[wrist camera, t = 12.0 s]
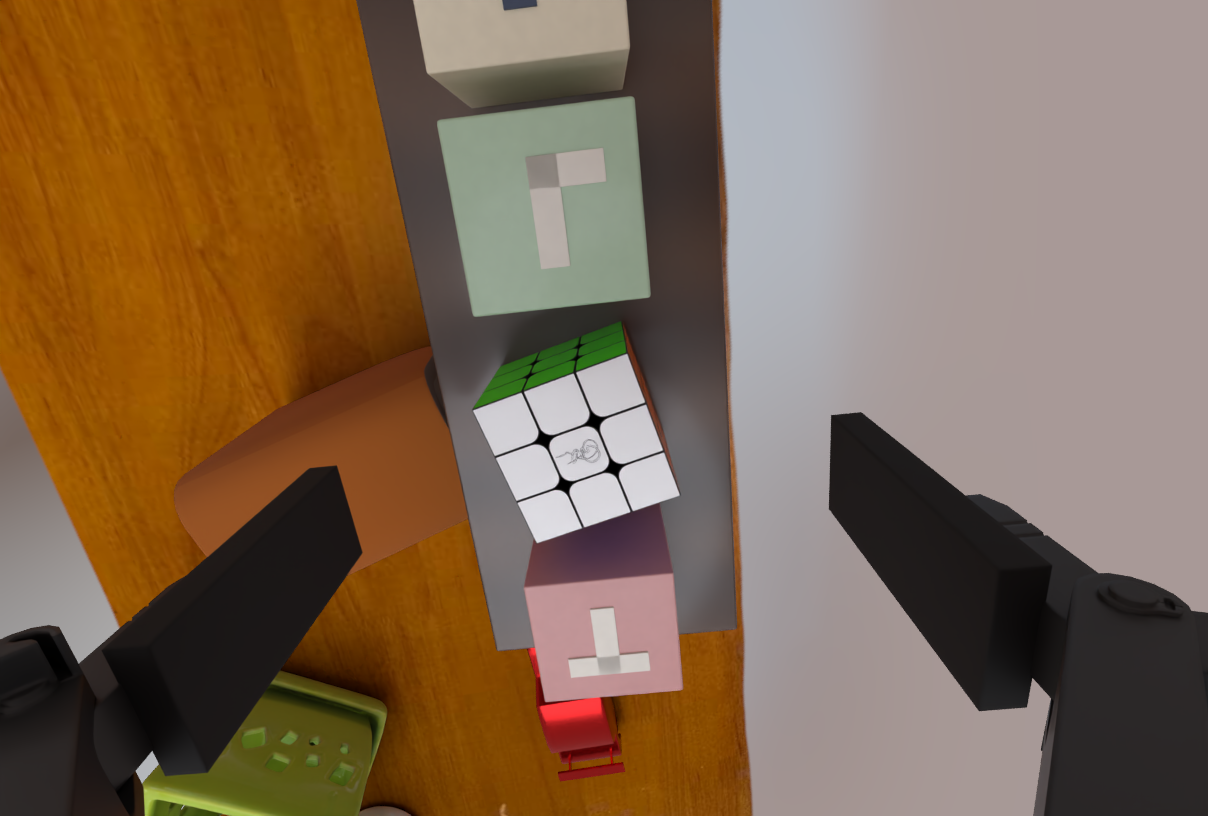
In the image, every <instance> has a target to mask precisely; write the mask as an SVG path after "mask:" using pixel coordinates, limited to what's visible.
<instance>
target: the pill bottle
mask: <svg viewBox="0 0 1208 816" xmlns="http://www.w3.org/2000/svg"><path fill="white" fill-rule="evenodd" d="M359 816H411V815H410V814H408V813H407V812H405V811H403V810H400V809H397V808H394V807H388V806H377V807H371V808H368V809H365V810H363V811H361V812H359Z"/></svg>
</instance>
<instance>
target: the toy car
mask: <svg viewBox="0 0 1208 816" xmlns="http://www.w3.org/2000/svg"><path fill="white" fill-rule="evenodd" d="M527 650H528V654H529V657H530V660H531V663H532V667H533V670H534V673H535V677H536V707H537V711H538V715H539V719H540V722H541V725H542V729H543V732H544V735H545V738H546V741H547V745H548V747H549V749H550V751H551V753H556V752H559V756H560V759H561V762H562V764H566V763H569V770H568V771H561V772H558V776H559V779H560V781H566V780H573V779H580V778H586V777H593V776H600V775H606V774H613V773H620V772H625V768H624V764H623V762H621V763H614V764H613V756H619V755H621V753H622V749H621V734H620V733H619V734H618V727H617V720H616V715H615V710H614V706H613V702H612V698H611V696H609V697H598V698H587V699H575V700H564V701H553V702H545V699H544V694H543V688H542V683H541V678H540V672H539V667H538V662H537V656H536V651H535V648H527ZM606 757H611V764H607V765H601V766H594V767H588V768H581V769H574V770H572V765H571V763H573V762H579V761H586V760H592V759H599V758H606Z"/></svg>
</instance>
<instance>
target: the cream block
mask: <svg viewBox="0 0 1208 816" xmlns="http://www.w3.org/2000/svg"><path fill="white" fill-rule="evenodd" d="M413 2H414V7H415V13H416V18H417V23H418V29H419V34H420V39H421V45H422V50H423V55H424V61H425V66H426V71H427V73H428V74H429V75H430V76H431V77H432V78H434V79H435V80H436V81H438V82H439V83H440V84H441V85H443V86H444V87H445V88H446V89H448V90H449V91H450V92H452V93H453V94H454V95H455V96H457V97H458V98H459V99H460V100H462V101H463V102H464V103H466V104H467V105H468V106H469V107H471V108H479V107H487V106H496V105H504V104H512V103H520V102H528V101H536V100H544V99H552V98H560V97H568V96H576V95H584V94H593V93H601V92H609V91H617V90H622V89H623V84H624V78H625V72H626V67H627V61H628V55H629V50H630V39H629V26H628V14H627V2H626V0H413Z"/></svg>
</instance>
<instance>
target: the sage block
mask: <svg viewBox="0 0 1208 816" xmlns="http://www.w3.org/2000/svg"><path fill="white" fill-rule="evenodd" d="M437 127H438V132H439V138H440V143H441V148H442V154H443V159H444V164H445V170H446V175H447V180H448V186H449V191H450V196H451V202H452V207H453V212H454V218H455V223H456V228H457V234H458V239H459V244H460V250H461V255H462V260H463V266H464V271H465V276H466V282H467V287H468V292H469V298H470V303H471V308H472V314H473V315H474V316H475V317H481V316H490V315H499V314H508V313H517V312H526V311H534V310H543V309H552V308H561V307H570V306H579V305H588V304H597V303H606V302H615V301H624V300H633V299H642V298H648V297H650V295H651V292H650V279H649V267H648V255H647V243H646V231H645V219H644V206H643V194H642V182H641V170H640V158H639V146H638V133H637V121H636V109H635V99H634V97H632V96H628V97H620V98H612V99H603V100H595V101H587V102H579V103H571V104H563V105H555V106H547V107H539V108H530V109H522V110H514V111H506V112H498V113H490V114H482V115H474V116H466V117H458V118H449V119H441V120H439V121H437Z"/></svg>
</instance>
